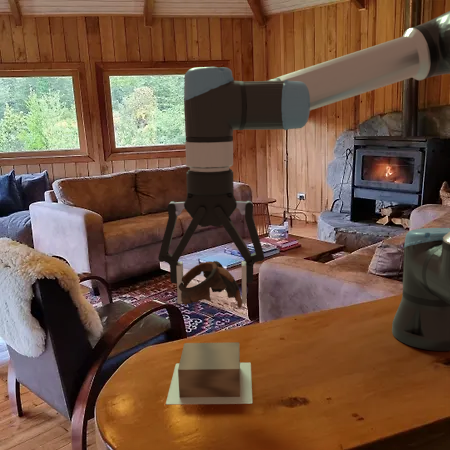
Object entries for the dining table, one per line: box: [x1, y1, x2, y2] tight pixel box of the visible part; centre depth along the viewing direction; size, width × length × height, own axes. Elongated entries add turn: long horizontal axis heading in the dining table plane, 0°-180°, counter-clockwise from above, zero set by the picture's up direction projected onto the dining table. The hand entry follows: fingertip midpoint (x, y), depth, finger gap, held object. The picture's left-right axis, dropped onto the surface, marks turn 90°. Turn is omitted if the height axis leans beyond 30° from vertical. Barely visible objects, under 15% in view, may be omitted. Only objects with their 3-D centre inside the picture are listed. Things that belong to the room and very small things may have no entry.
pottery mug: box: [179, 260, 243, 309], centre depth 87 cm, size 12×10×8 cm
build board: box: [165, 362, 253, 405], centre depth 91 cm, size 14×14×2 cm
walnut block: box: [178, 342, 241, 397], centre depth 91 cm, size 10×10×5 cm
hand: (212, 300), depth 88 cm, fingers closed on pottery mug, 10 cm apart
